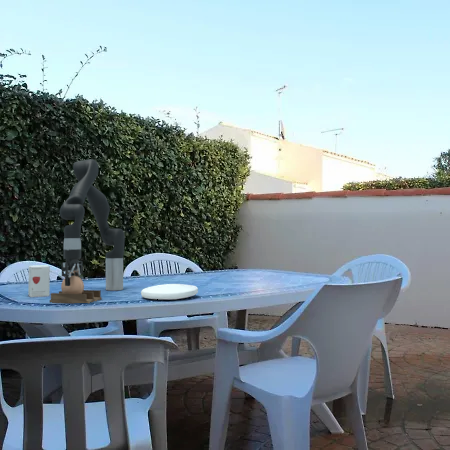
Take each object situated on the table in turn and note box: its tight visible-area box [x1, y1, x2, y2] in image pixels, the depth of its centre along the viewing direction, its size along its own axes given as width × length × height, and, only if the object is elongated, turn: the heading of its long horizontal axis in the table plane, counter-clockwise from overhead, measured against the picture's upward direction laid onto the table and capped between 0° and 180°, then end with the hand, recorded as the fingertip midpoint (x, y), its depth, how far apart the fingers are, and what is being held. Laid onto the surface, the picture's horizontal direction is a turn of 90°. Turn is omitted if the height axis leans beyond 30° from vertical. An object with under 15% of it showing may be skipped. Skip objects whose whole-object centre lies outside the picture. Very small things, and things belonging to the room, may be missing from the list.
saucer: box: [60, 275, 85, 294], centre depth 217 cm, size 3×10×11 cm, turn 76°
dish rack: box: [49, 289, 103, 304], centre depth 220 cm, size 14×18×4 cm
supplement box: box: [27, 264, 51, 298], centre depth 239 cm, size 9×9×15 cm
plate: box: [140, 283, 199, 301], centre depth 231 cm, size 28×6×27 cm
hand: (72, 284), depth 217 cm, fingers open, 7 cm apart
